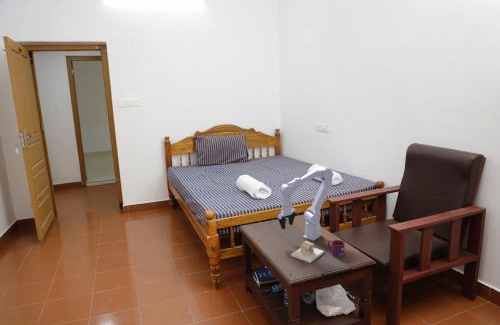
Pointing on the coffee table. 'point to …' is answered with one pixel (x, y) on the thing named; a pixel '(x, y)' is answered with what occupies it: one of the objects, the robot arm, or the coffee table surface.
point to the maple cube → (307, 248)
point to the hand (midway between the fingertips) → (287, 226)
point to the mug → (337, 248)
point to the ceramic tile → (307, 258)
